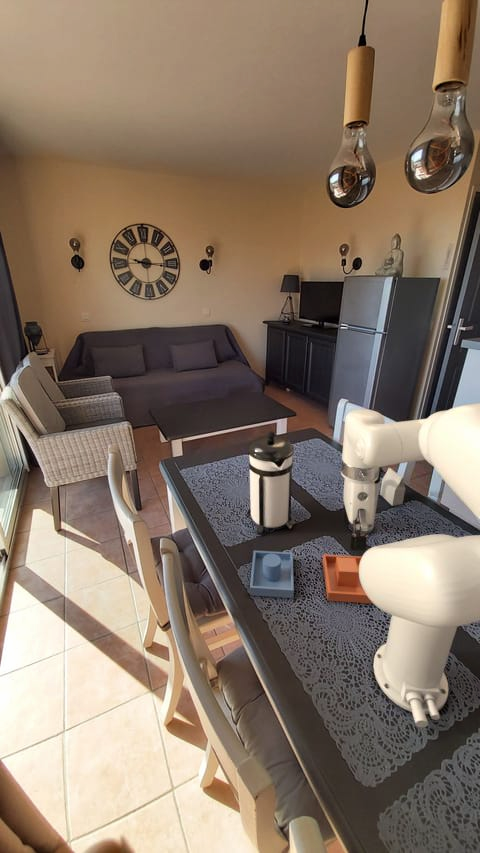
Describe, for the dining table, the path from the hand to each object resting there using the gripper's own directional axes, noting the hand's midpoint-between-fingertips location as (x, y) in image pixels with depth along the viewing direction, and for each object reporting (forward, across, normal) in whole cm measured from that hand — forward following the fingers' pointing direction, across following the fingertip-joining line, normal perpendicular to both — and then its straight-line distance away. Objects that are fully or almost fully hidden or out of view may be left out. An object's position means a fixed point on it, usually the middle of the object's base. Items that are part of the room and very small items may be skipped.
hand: (353, 534), depth 82 cm
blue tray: (+14, +1, +18) cm, 23 cm away
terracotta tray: (+15, +1, 0) cm, 15 cm away
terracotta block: (+14, +1, 0) cm, 14 cm away
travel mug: (+14, +22, -8) cm, 27 cm away
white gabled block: (+14, +37, -20) cm, 44 cm away
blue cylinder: (+14, +1, +18) cm, 23 cm away
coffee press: (+14, +24, +20) cm, 34 cm away
